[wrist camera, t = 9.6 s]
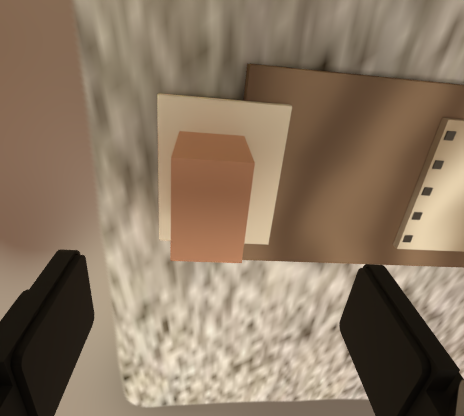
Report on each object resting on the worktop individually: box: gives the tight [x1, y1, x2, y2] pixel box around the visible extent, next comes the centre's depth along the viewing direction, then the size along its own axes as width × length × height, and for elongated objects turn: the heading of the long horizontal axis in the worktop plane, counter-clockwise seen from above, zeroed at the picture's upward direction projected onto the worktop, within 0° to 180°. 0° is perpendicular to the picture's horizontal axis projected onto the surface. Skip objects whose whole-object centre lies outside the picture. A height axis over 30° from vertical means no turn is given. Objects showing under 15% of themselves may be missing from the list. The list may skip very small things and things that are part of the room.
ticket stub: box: [157, 93, 292, 263], centre depth 19 cm, size 8×10×6 cm
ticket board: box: [242, 64, 464, 267], centre depth 23 cm, size 26×14×4 cm, turn 85°
